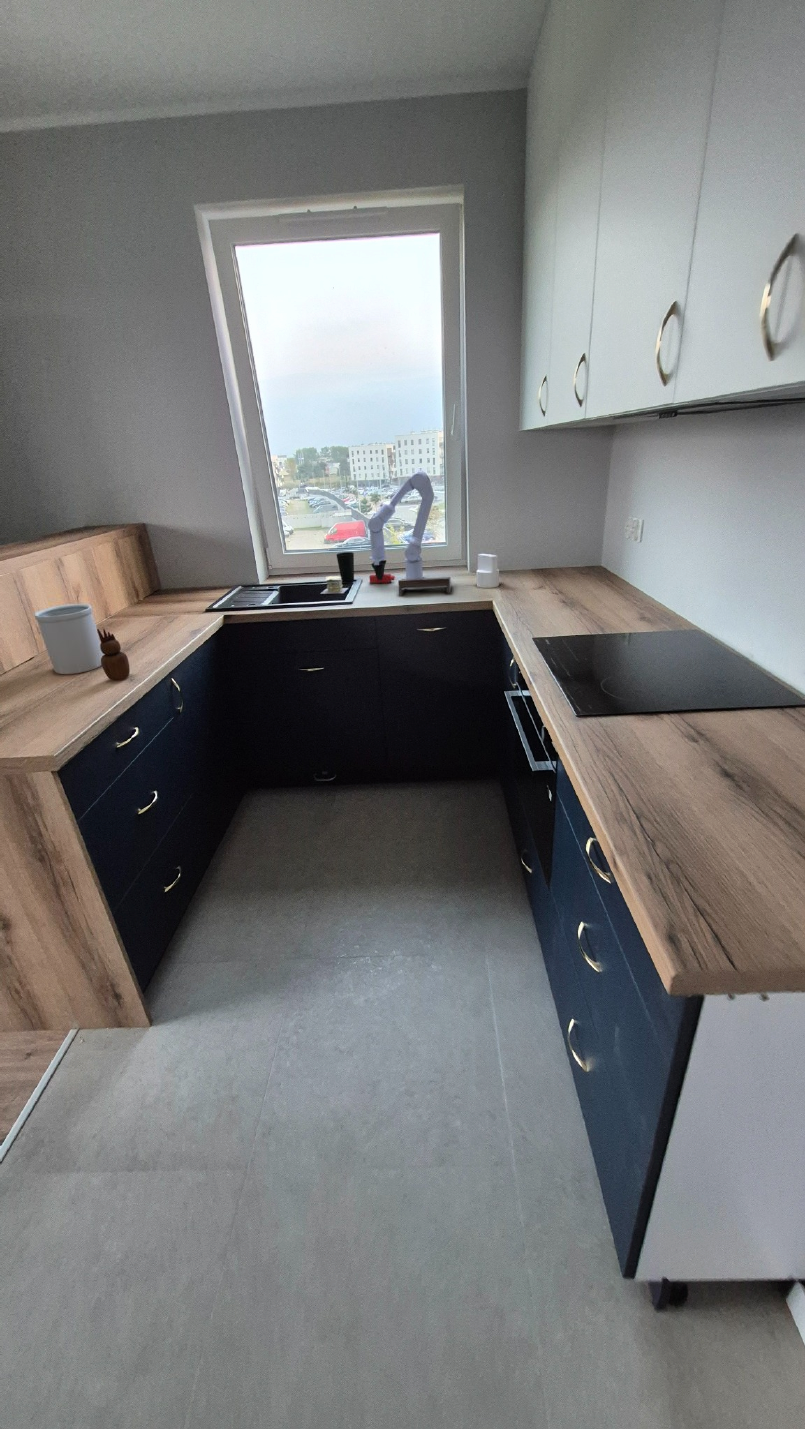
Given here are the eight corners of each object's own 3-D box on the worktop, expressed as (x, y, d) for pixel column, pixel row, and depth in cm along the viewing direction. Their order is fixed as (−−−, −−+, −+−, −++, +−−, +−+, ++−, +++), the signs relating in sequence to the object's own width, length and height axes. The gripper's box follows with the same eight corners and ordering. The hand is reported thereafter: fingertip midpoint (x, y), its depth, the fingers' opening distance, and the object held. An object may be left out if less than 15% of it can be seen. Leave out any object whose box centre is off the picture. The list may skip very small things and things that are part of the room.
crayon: (371, 581, 253) (370, 574, 252) (394, 580, 251) (394, 573, 250) (369, 583, 250) (369, 576, 249) (394, 582, 249) (393, 575, 248)
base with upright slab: (503, 584, 232) (503, 554, 227) (486, 588, 228) (486, 558, 223) (488, 581, 239) (488, 552, 234) (472, 585, 235) (471, 555, 230)
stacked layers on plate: (348, 588, 246) (347, 575, 243) (343, 593, 238) (341, 580, 235) (326, 588, 247) (324, 576, 245) (320, 593, 240) (318, 580, 237)
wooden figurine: (107, 684, 158) (91, 632, 152) (106, 678, 163) (90, 627, 156) (133, 679, 161) (118, 627, 154) (131, 673, 165) (117, 622, 159)
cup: (355, 582, 255) (352, 554, 250) (338, 583, 256) (335, 555, 251) (357, 578, 262) (354, 551, 257) (340, 579, 263) (337, 552, 258)
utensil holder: (98, 654, 183) (81, 600, 176) (115, 664, 173) (98, 607, 166) (47, 668, 174) (27, 611, 167) (62, 679, 164) (42, 619, 157)
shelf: (402, 588, 238) (401, 574, 236) (450, 586, 236) (450, 572, 233) (399, 595, 227) (398, 580, 225) (449, 593, 225) (449, 578, 222)
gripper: (371, 544, 252) (373, 575, 257) (365, 550, 239) (368, 582, 244) (386, 543, 251) (389, 574, 256) (382, 549, 238) (385, 582, 243)
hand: (380, 578), depth 250 cm, fingers closed on crayon, 3 cm apart
